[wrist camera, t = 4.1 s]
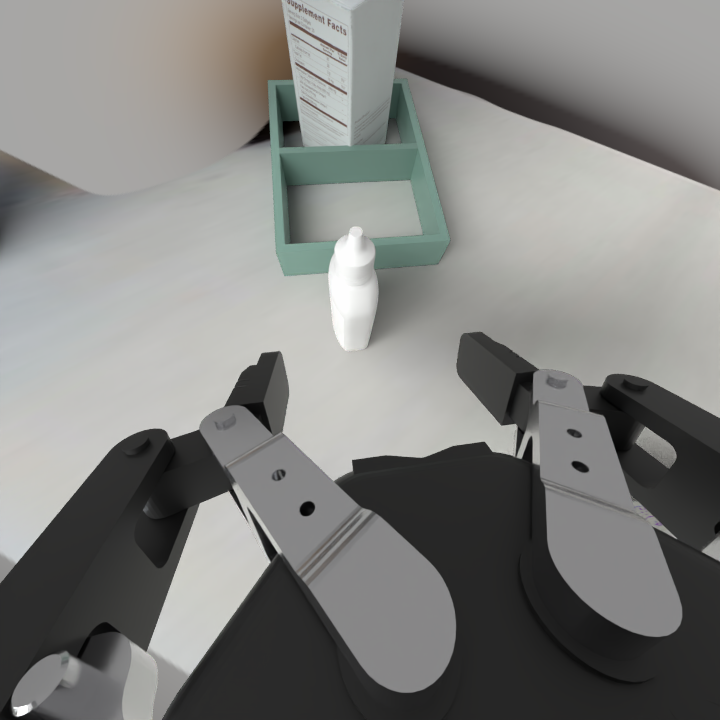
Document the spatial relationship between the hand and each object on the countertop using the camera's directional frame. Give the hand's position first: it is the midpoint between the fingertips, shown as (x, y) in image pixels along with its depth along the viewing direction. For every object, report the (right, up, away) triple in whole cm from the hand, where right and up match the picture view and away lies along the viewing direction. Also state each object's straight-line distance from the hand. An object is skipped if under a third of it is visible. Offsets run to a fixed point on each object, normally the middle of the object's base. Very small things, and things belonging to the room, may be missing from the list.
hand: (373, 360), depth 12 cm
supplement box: (-3, +26, +20) cm, 33 cm away
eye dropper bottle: (-2, +3, +14) cm, 14 cm away
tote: (-2, +20, +19) cm, 28 cm away
